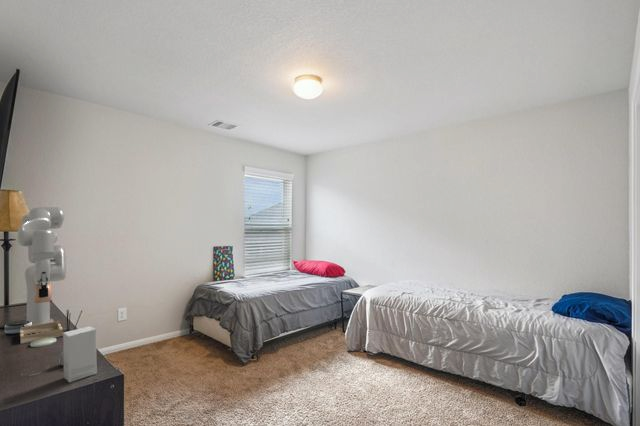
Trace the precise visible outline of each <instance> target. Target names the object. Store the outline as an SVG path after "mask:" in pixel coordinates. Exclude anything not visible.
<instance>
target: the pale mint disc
mask: <svg viewBox="0 0 640 426" xmlns="http://www.w3.org/2000/svg"><path fill="white" fill-rule="evenodd" d="M56 342H57V337H54V338H45V339H40V340H36V341H33V342H29V343H30V344H29V346H30V348H40V347H45V346H50V345H53V344H55V343H56Z"/></svg>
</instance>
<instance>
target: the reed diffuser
mask: <svg viewBox="0 0 640 426" xmlns="http://www.w3.org/2000/svg"><path fill="white" fill-rule="evenodd" d="M69 311H70V310H69V309H66V332H68V331H70V324H71V314H72V313H71V312H70V313H69ZM82 313H83V310H81V311H80V313H79V316H78V319H77V321H76V323H75V326H74V327H73V330H76V327H77V325H78V322H79V320H80V317H81V314H82ZM58 359H59V360H58V362H59V365H61V366H64V349H62V351H61V352H60V353H59V357H58Z"/></svg>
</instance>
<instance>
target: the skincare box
mask: <svg viewBox="0 0 640 426" xmlns="http://www.w3.org/2000/svg"><path fill="white" fill-rule="evenodd" d="M62 339H63V340H62V341H63V349H62V350H64V365H63V378H64V379H65V380H66V381H67V382H68V383H72V382H77V381H78V380H81V379H84V378H88V377H90V376H93V375H96V374H97V373H98V369H97V368H98V367H97V329H96V328H95V327H92V326H85V327H81V328H80V327H79V328H77V329H76V328H75V330H74V329H72V330H69V331H68V332H67V331H63V336H62Z"/></svg>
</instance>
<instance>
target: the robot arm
mask: <svg viewBox="0 0 640 426" xmlns="http://www.w3.org/2000/svg"><path fill="white" fill-rule="evenodd" d="M64 221H65V213H64V210H63V209H62V208H61V207H58V206H57V207H55V206H52V207H51V206H36V207H33V208H31V209H30V210H29V212H28V214H25V215H23V216H22V217H21V224H20V226H19V227H18V230H17V242H18V244H19V246H22V247H27V257H28V261H29V263H31V264H34V265H31V266H27V268H26V269H25V271H24V279H25V284H26V285H25V286H26V322H27V321H29V322H32V325H37V324H43V323H49V322H54V319H53V318H51V317H50V316H51V301H49V302H44V303H34V285H36V284H38V282H37V281H40V282H39V283H40V289H39V298H42V297H48V283H52V282H59V281H63V280H64V279H66V277H67V261H66V260H67V259H66V250H65V248H64V246H63V245H56V242H57V241H58V233H57V232H56V231H55V229H60V228H62V226H63V223H64ZM47 278H48V281H47ZM41 280H42V281H41ZM47 282H48V283H47Z"/></svg>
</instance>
